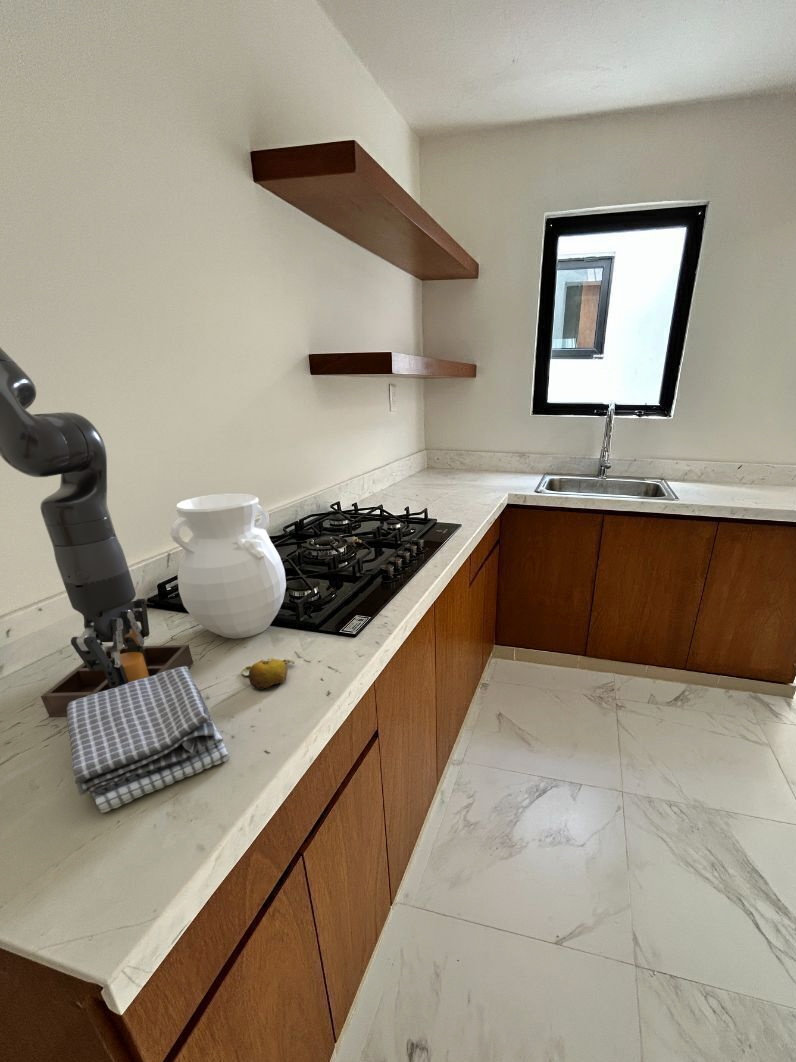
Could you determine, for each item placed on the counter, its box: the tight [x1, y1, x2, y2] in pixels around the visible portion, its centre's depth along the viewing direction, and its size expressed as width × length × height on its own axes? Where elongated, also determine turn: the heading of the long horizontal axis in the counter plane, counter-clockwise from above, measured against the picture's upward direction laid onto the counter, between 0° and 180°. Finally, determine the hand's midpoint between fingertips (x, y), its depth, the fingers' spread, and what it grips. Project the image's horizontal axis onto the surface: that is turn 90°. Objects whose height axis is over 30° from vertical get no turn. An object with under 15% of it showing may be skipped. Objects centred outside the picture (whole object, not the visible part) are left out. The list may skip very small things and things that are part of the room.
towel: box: [66, 666, 230, 814], centre depth 63 cm, size 15×18×8 cm
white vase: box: [170, 492, 287, 640], centre depth 93 cm, size 19×18×25 cm
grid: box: [40, 644, 194, 718], centre depth 78 cm, size 14×14×4 cm
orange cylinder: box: [111, 652, 150, 683], centre depth 74 cm, size 5×5×4 cm
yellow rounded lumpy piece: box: [241, 658, 295, 691], centre depth 80 cm, size 8×8×4 cm
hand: (130, 677), depth 74 cm, fingers closed on orange cylinder, 4 cm apart
